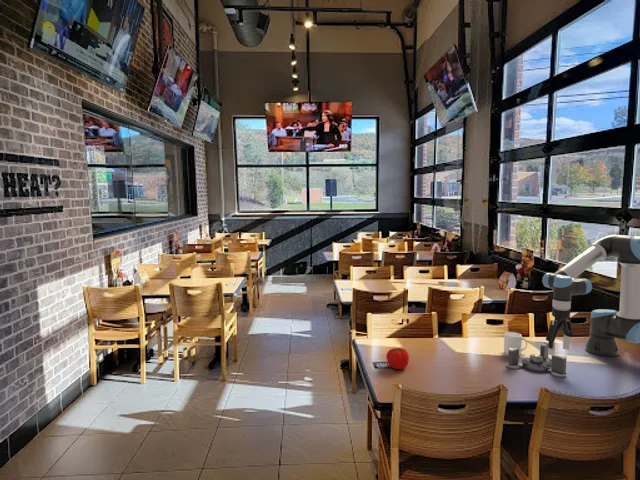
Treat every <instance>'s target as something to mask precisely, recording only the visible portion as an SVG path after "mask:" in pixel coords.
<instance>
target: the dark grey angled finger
mask: <svg viewBox="0 0 640 480" xmlns="http://www.w3.org/2000/svg"><path fill="white" fill-rule="evenodd" d="M508 350H509V352H508V355H507V356H508V357H507V359H508V360H507V362H508V365H511V366H512V365H515V364H517V363H520V362H519V361H520V359H519V358H520V357H519V356H520V355H519V348H516V347H515V348H509V349H508Z"/></svg>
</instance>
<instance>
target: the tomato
mask: <svg viewBox="0 0 640 480" xmlns="http://www.w3.org/2000/svg"><path fill="white" fill-rule="evenodd" d="M385 356H386V361H387V364H388V365H389V367H390V368H392V369H394V368H395V369H394V370H397V369H399V370H404V369H405V368H407V366H408V364H409V362H410V361H409V360H410V355H409V352H408V350H406V349H405V348H402V347H393V348H390V349H389V351H387V353H386V355H385Z"/></svg>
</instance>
